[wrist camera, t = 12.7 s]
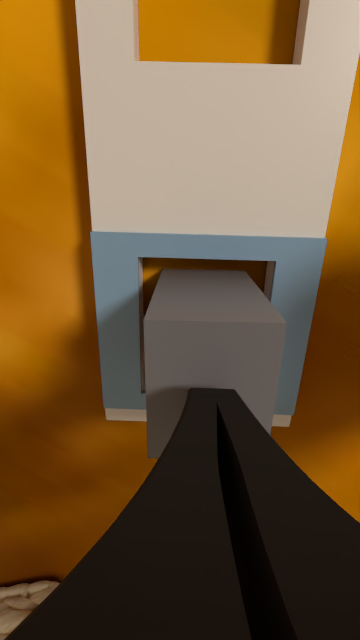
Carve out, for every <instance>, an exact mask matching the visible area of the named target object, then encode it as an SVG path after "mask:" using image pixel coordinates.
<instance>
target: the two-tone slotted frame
mask: <svg viewBox="0 0 360 640" xmlns="http://www.w3.org/2000/svg"><path fill="white" fill-rule="evenodd" d="M75 6H76V20H77V33H78V47H79V60H80V74H81V87H82V101H83V114H84V128H85V141H86V155H87V169H88V182H89V196H90V209H91V223H92V231H91V232H90V237H91V250H92V263H93V277H94V290H95V303H96V316H97V329H98V342H99V355H100V368H101V381H102V395H103V408H105V412H106V420H122V421H147V416H146V384H145V363H144V321H143V320H144V307H143V257H156V258H189V259H223V260H256V261H267V269H266V277H265V284H264V292H263V294H264V295H265V296H266V297H267V299H268V300H269V301H270V302H271V304H272V305H273V306H274V307H275V309H276V310H277V311H278V312H279V314H280V315H281V316H282V317H283V319H284V320H285V321H286V322H287V326H286V333H285V340H284V346H283V353H282V360H281V367H280V374H279V380H278V387H277V394H276V401H275V408H274V415H273V421H272V426H281V427H289V426H290V420H291V415H294V412H295V407H296V402H297V396H298V391H299V386H300V381H301V376H302V370H303V365H304V360H305V355H306V349H307V344H308V339H309V334H310V328H311V323H312V318H313V313H314V308H315V302H316V297H317V292H318V287H319V281H320V276H321V271H322V266H323V260H324V255H325V250H326V245H327V240H328V239H327V238H325V234H326V229H327V223H328V218H329V213H330V207H331V202H332V197H333V191H334V186H335V181H336V175H337V170H338V165H339V159H340V154H341V149H342V143H343V138H344V133H345V127H346V122H347V117H348V111H349V106H350V101H351V95H352V90H353V85H354V79H355V74H356V69H357V63H358V58H359V53H360V0H300V8H299V16H298V23H297V31H296V39H295V47H294V55H293V63H292V64H244V63H195V62H146V61H139V29H138V0H75Z"/></svg>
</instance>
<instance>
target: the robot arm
mask: <svg viewBox="0 0 360 640" xmlns="http://www.w3.org/2000/svg"><path fill="white" fill-rule="evenodd" d="M4 640H360V523H359V522H358V521H356V520H355V519H354V518H353V517H352V516H351V515H349V514H348V513H347V512H346V511H345V510H344V509H342V508H341V507H340V506H339V505H338V504H337V503H336V502H335V501H333V500H332V499H331V498H330V497H329V496H328V495H327V494H326V493H325V492H324V491H323V490H322V489H320V488H319V487H318V486H317V485H316V484H315V483H314V482H313V481H312V480H311V479H310V478H309V477H308V476H307V475H306V474H305V473H304V472H303V471H302V470H301V469H300V468H299V467H298V466H297V465H296V464H295V463H294V462H293V460H292V459H291V458H290V457H289V456H288V455H287V454H286V453H285V452H284V451H283V450H282V448H281V447H280V446H279V445H278V444H277V443H276V442H275V440H274V439H273V438H272V437H271V436H270V434H269V433H268V432H267V431H266V430H265V428H264V427H263V426H262V425H261V423H260V422H259V421H258V420H257V418H256V417H255V416H254V414H253V413H252V412H251V411H250V409H249V408H248V407H247V405H246V404H245V402H244V401H243V400H242V398H241V397H240V395H239V394H238V393H237V392H236V390H235V389H220V388H191V389H189V390H188V393H187V399H186V403H185V406H184V409H183V411H182V414H181V416H180V419H179V421H178V423H177V425H176V427H175V429H174V432H173V434H172V436H171V438H170V440H169V441H168V443H167V445H166V447H165V448H164V450H163V452H162V454H161V456H160V457H159V459H158V461H157V462H156V464H155V466H154V467H153V469H152V470H151V472H150V474H149V475H148V477H147V478H146V480H145V481H144V482H143V484H142V485H141V487H140V488H139V490H138V491H137V493H136V494H135V495H134V497H133V498H132V499H131V501H130V502H129V503H128V505H127V506H126V507H125V508H124V510H123V511H122V512H121V514H120V515H119V516H118V518H117V519H116V520H115V521H114V523H113V524H112V525H111V526H110V528H109V529H108V530H107V531H106V532H105V534H104V535H103V536H102V537H101V538H100V539H99V541H98V542H97V543H96V544H95V545H94V546H93V547H92V548H91V550H90V551H89V552H88V553H87V554H86V555H85V556H84V557H83V559H82V560H81V561H80V562H79V563H78V564H77V565H76V566H75V567H74V569H73V570H72V571H71V572H70V573H69V574H68V575H67V576H66V578H65V579H64V580H63V581H62V582H61V583H60V584H59V585H58V586H57V587H56V588H55V589H54V590H53V591H52V592H51V593H50V594H49V595H48V596H47V597H46V598H45V599H44V600H43V601H42V602H41V603H40V604H39V605H38V606H37V607H36V608H35V609H34V610H33V611H32V612H31V613H30V614H29V615H28V616H27V617H26V618H25V619H24V620H23V621H22V622H21V623H20V624H19V625H18V626H17V627H16V628H15V629H14V630H13V631H12V632H11V633H10V634H9V635H8V636H7V637H6V638H5V639H4Z"/></svg>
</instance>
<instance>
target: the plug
mask: <svg viewBox="0 0 360 640" xmlns="http://www.w3.org/2000/svg"><path fill="white" fill-rule="evenodd" d="M143 321H144V353H145V384H146V416H147V447H148V458H159V457H160V456H161V454H162V452H163V450H164V448H165V447H166V445H167V443H168V441H169V440H170V438H171V436H172V434H173V432H174V429H175V427H176V425H177V423H178V421H179V419H180V416H181V414H182V411H183V409H184V406H185V403H186V399H187V393H188V390H189V389H191V388H220V389H235V390H236V392H237V393H238V394H239V395H240V397H241V398H242V400H243V401H244V402H245V404H246V405H247V407H248V408H249V409H250V411H251V412H252V413H253V414H254V416H255V417H256V418H257V420H258V421H259V422H260V423H261V425H262V426H263V427H264V428H265V430H266V431H267V432H268V433H269V434H270V435H271V428H272V421H273V415H274V408H275V401H276V394H277V387H278V380H279V374H280V367H281V360H282V353H283V346H284V340H285V333H286V326H287V322H286V321H285V320H284V319H283V317H282V316H281V315H280V314H279V312H278V311H277V310H276V309H275V307H274V306H273V305H272V304H271V302H270V301H269V300H268V299H267V297H266V296H265V295H264V294H263V292H262V291H261V290H260V289H259V287H258V286H257V285H256V284H255V282H254V281H253V280H252V279H251V277H250V276H249V275H248V274H247V272H246V271H245V270H212V269H162V272H161V274H160V277H159V280H158V282H157V285H156V288H155V290H154V293H153V296H152V298H151V301H150V304H149V306H148V309H147V312H146V315H145V317H144V320H143Z"/></svg>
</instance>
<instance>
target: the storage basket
mask: <svg viewBox="0 0 360 640" xmlns="http://www.w3.org/2000/svg"><path fill="white" fill-rule="evenodd" d="M59 584H60V583H59V582H56V581H38V582H35V583H32V584H28V583H21V584H17V585H14V586H11V587H0V640H4V639H5V638H6V637H7V636H8V635H9V634H10V633H11V632H12V631H13V630H14V629H15V628H16V627H17V626H18V625H19V624H20V623H21V622H22V621H23V620H24V619H25V618H26V617H27V616H28V615H29V614H30V613H31V612H32V611H33V610H34V609H35V608H36V607H37V606H38V605H39V604H40V603H41V602H42V601H43V600H44V599H45V598H46V597H47V596H48V595H49V594H50V593H51V592H52V591H53V590H54V589H55V588H56V587H57V586H58V585H59Z"/></svg>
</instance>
